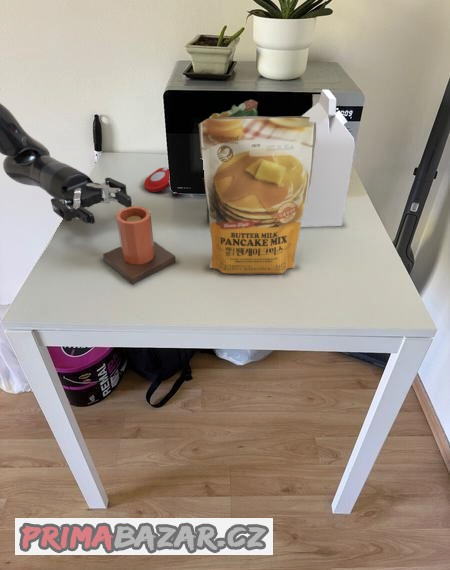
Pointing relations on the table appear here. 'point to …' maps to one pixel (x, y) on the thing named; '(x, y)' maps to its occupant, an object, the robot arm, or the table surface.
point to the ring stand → (141, 271)
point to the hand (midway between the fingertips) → (111, 211)
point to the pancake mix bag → (256, 189)
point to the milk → (328, 165)
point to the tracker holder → (158, 180)
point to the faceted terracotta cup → (135, 235)
